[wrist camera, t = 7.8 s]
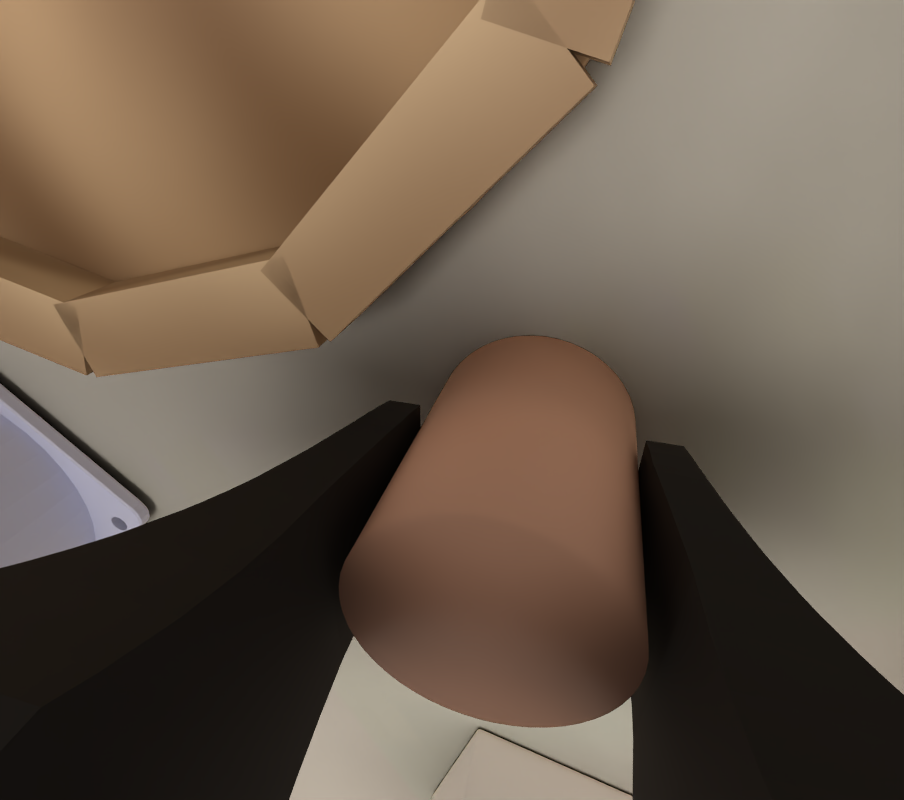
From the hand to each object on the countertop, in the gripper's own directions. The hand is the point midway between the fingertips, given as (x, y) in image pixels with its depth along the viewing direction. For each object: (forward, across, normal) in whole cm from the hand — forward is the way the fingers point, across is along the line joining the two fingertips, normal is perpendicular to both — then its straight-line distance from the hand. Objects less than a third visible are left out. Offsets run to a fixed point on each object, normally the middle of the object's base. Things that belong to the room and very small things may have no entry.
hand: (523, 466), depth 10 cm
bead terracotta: (+1, 0, 0) cm, 1 cm away
